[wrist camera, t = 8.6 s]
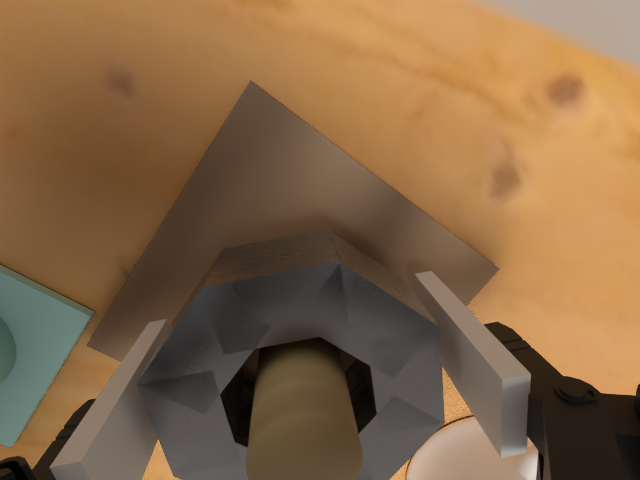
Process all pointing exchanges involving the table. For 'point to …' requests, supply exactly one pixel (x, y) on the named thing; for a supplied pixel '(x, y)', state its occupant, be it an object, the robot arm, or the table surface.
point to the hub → (272, 223)
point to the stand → (32, 346)
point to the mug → (469, 457)
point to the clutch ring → (288, 326)
